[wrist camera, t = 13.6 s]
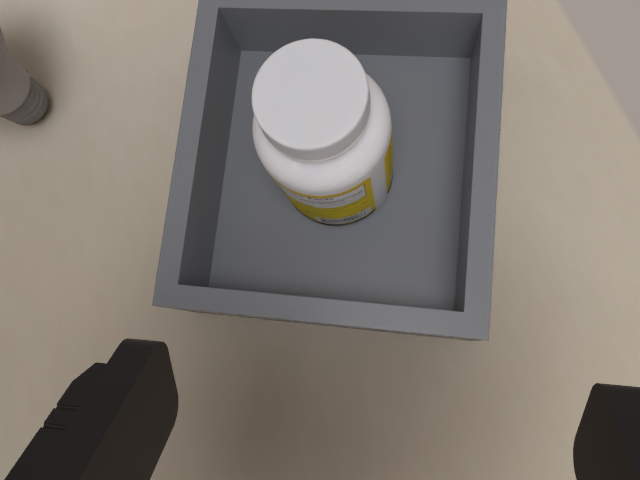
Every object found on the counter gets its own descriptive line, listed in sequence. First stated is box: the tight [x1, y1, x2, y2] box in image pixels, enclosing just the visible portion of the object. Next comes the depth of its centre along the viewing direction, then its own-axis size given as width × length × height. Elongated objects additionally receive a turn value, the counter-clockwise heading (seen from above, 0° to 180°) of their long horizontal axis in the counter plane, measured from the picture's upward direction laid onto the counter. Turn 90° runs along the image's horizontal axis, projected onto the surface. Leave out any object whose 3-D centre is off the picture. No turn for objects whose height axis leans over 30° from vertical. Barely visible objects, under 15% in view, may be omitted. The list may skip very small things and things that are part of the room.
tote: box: [152, 0, 507, 341], centre depth 27 cm, size 14×15×5 cm
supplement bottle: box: [252, 38, 393, 227], centre depth 24 cm, size 5×5×10 cm
